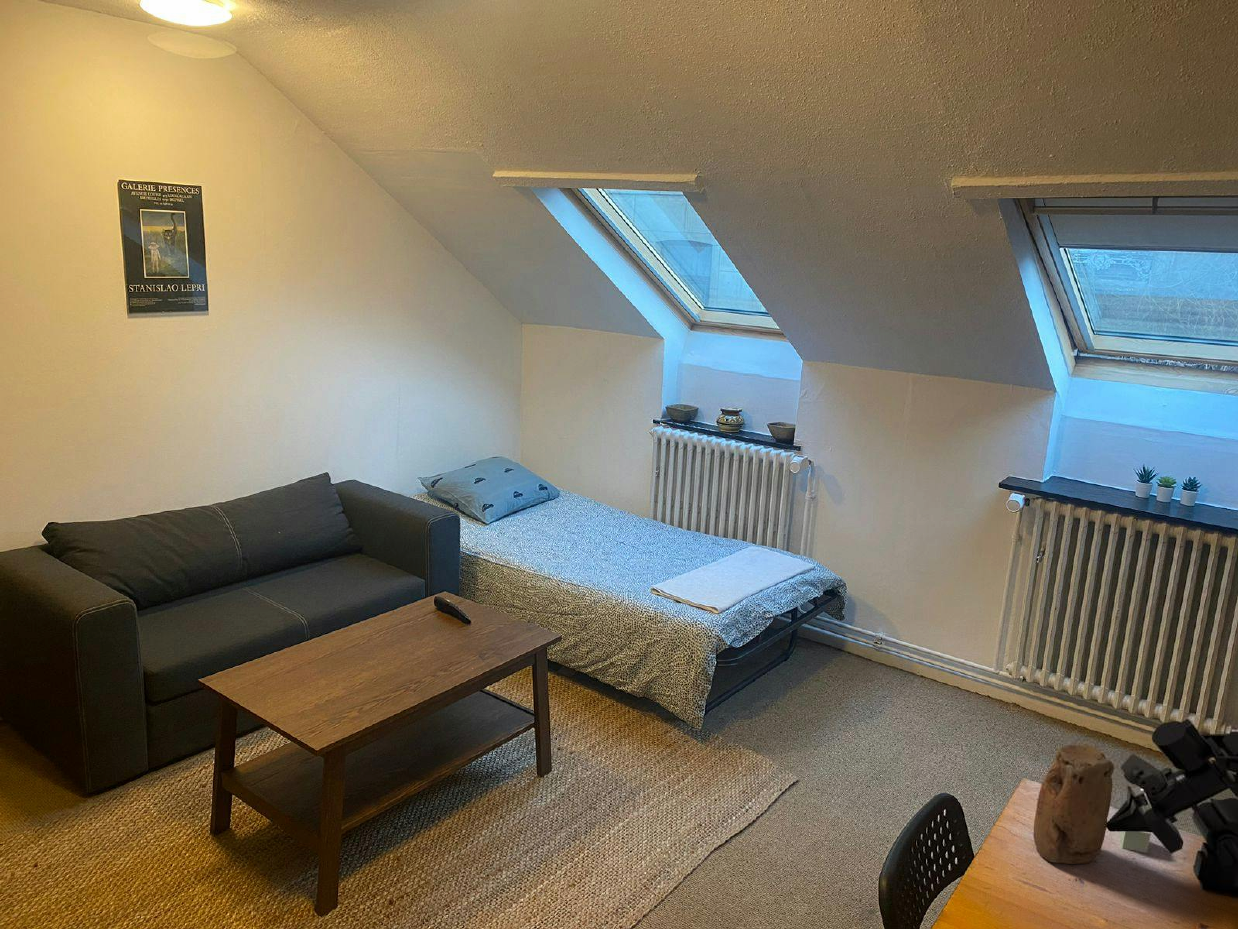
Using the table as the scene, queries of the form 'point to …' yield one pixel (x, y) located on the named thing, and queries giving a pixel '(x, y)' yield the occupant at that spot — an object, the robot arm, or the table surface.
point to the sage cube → (1134, 840)
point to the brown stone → (1074, 805)
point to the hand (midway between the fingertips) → (1107, 828)
